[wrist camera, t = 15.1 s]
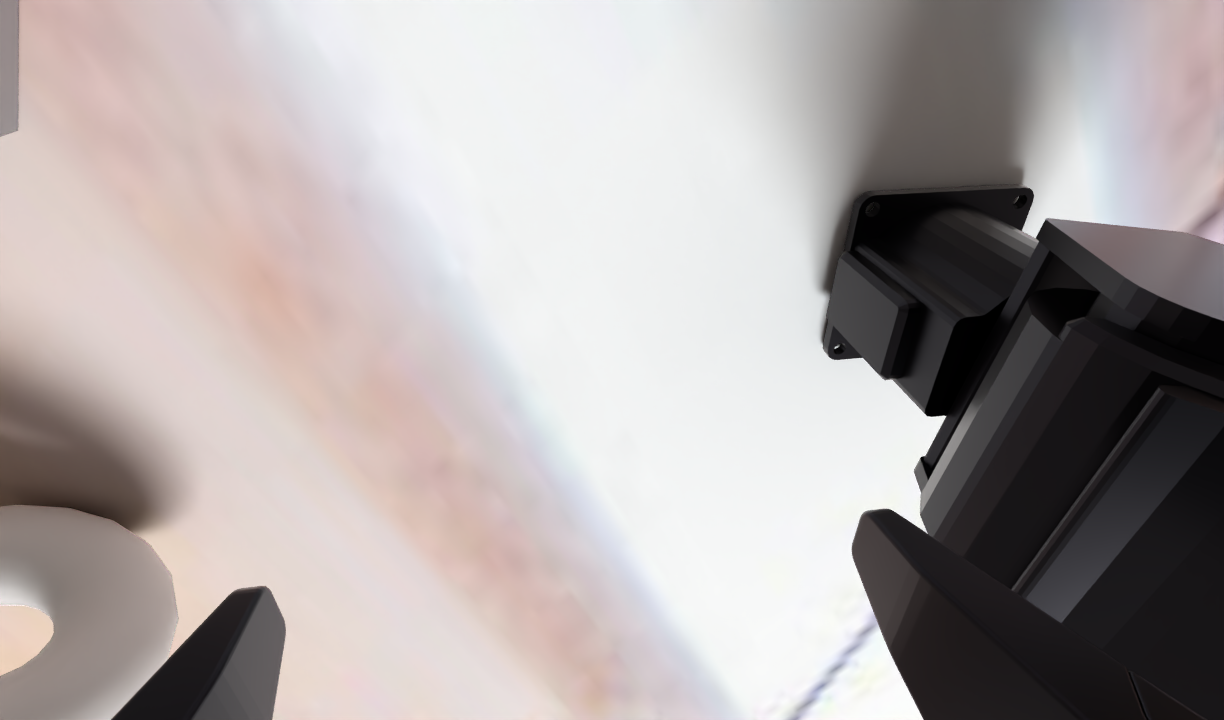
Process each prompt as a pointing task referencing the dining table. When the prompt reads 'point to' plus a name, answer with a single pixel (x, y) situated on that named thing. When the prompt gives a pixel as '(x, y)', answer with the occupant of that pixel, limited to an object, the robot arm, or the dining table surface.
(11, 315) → the dining table surface
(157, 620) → the donut
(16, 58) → the socket
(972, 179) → the dining table surface
